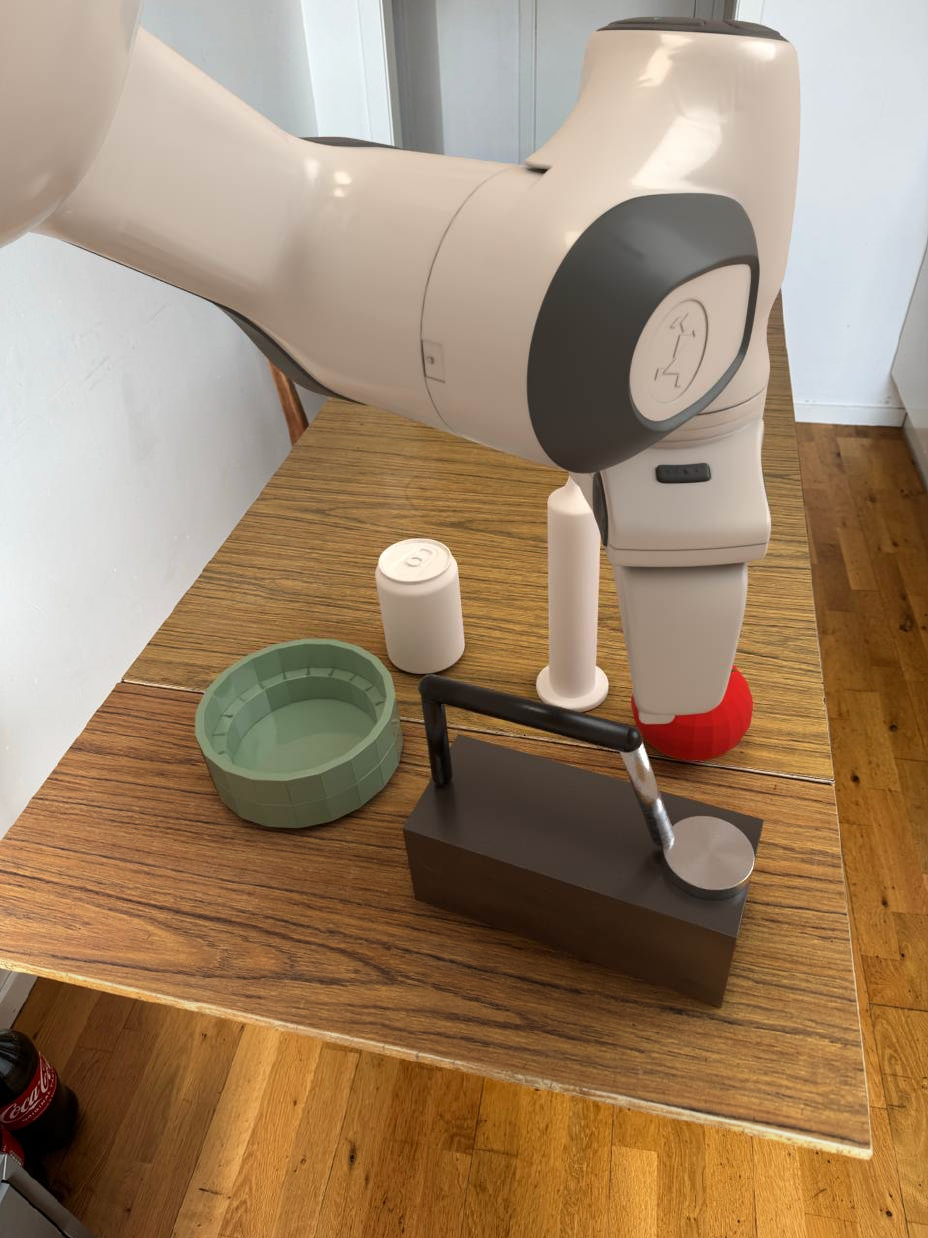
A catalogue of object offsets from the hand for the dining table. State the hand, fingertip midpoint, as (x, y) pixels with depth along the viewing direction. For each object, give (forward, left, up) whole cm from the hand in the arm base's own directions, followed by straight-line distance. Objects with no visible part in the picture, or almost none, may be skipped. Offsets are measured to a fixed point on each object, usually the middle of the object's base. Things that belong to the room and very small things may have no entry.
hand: (642, 654), depth 50 cm
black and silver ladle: (+1, +4, -19) cm, 19 cm away
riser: (+1, +4, -28) cm, 28 cm away
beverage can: (+23, +28, -28) cm, 46 cm away
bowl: (+6, +32, -28) cm, 43 cm away
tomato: (+20, 0, -28) cm, 34 cm away
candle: (+23, +12, -28) cm, 38 cm away
